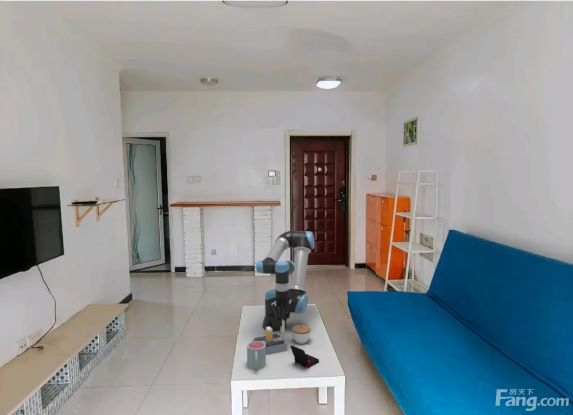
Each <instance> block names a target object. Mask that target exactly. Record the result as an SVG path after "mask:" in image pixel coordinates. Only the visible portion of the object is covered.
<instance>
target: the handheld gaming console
mask: <svg viewBox="0 0 573 415" xmlns="http://www.w3.org/2000/svg"><path fill="white" fill-rule="evenodd" d="M290 351H291V352H292V355H293V357H294V363H296V364H297V365H299V366H301V367H304V368H306V369H309V368H312V367H314V366H315V365H317V364H318V363H320V359H319V358H317V357H315V356H312V355H311V354H307V353H306V351H305V350H304V349H302V348H299V347H297V346H295V345H291V346H290Z"/></svg>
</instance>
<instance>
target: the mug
mask: <svg viewBox="0 0 573 415" xmlns="http://www.w3.org/2000/svg"><path fill="white" fill-rule="evenodd" d="M266 357H267V355H266V345H265V343H263V342H260V341H255V342H252V341H251V342H248V343H247V345H246V358H247V359H246V361H247V362H246V365H247V367H248V368H249V369H252V370H260V369H263V368H265V367H266V365H267V364H266V363H267V358H266Z"/></svg>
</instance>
